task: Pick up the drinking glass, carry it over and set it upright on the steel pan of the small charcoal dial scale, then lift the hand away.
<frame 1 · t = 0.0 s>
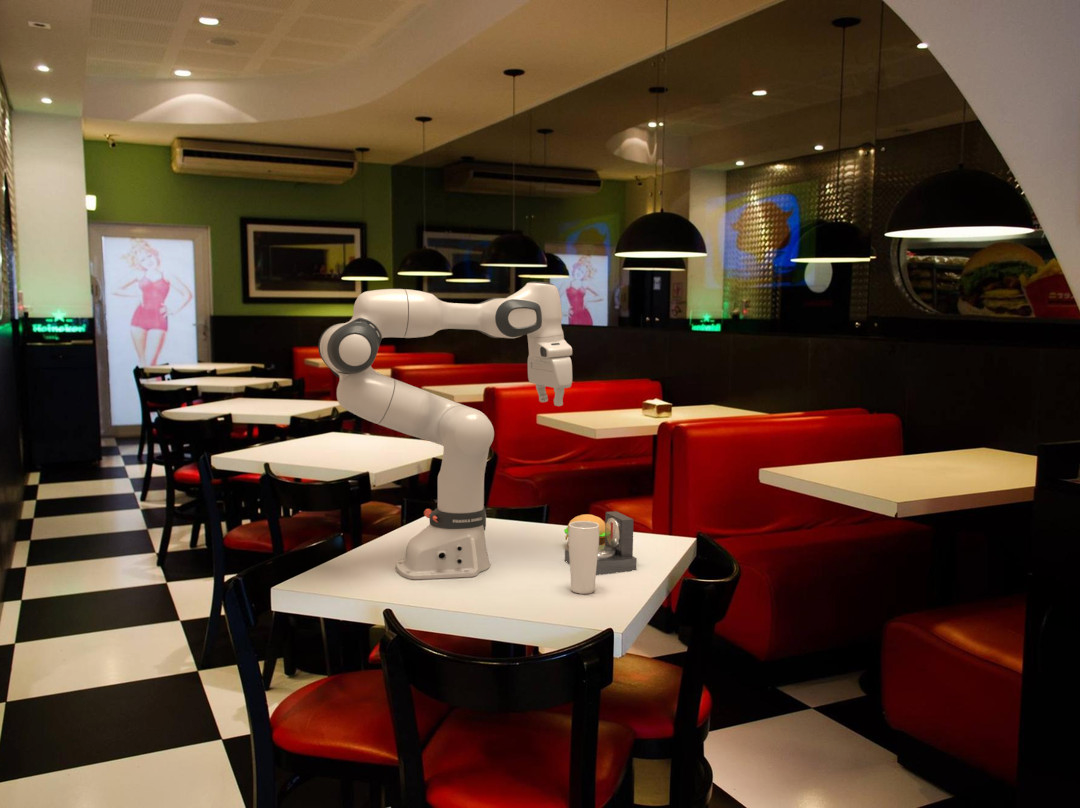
hand: (551, 403, 209), 39 cm above the table, tool pointing down, fingers open, 8 cm apart
dial scale: (599, 565, 206), on the table
drinking glass: (582, 591, 187), on the table
hamburger: (586, 548, 222), on the table
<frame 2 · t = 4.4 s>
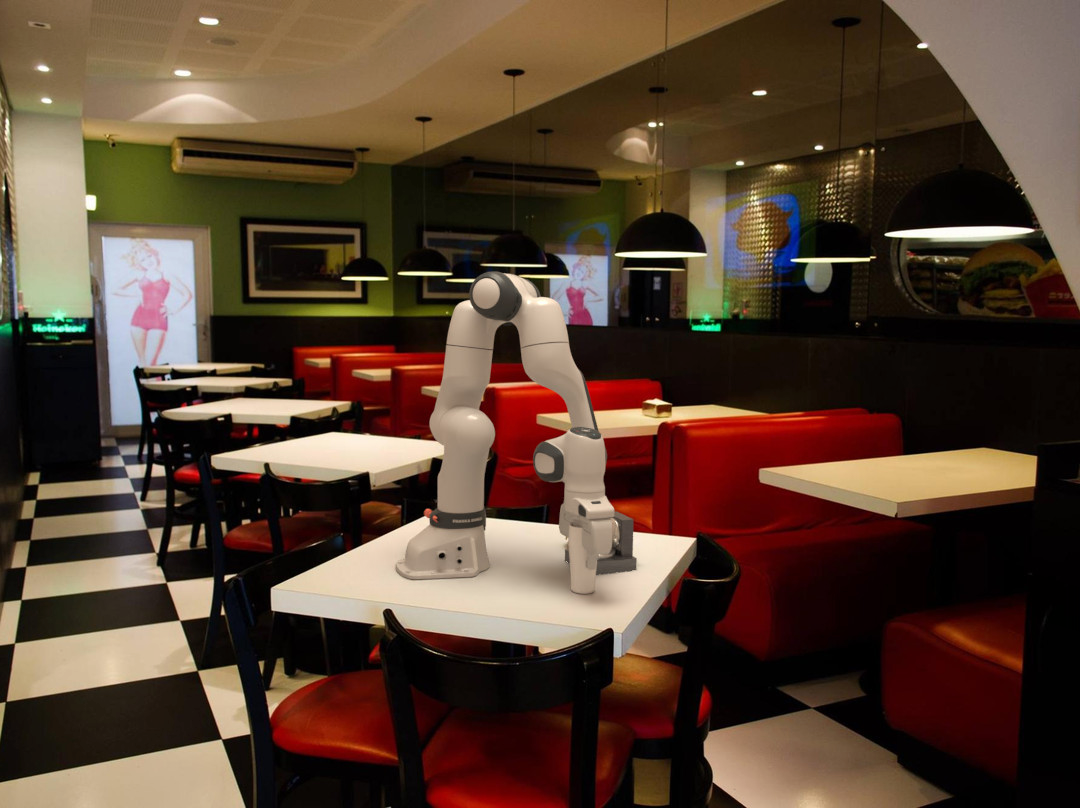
hand: (583, 563, 186), 6 cm above the table, tool pointing down, fingers closed on drinking glass, 6 cm apart
drinking glass: (582, 591, 187), on the table, touching gripper
everything else where it was.
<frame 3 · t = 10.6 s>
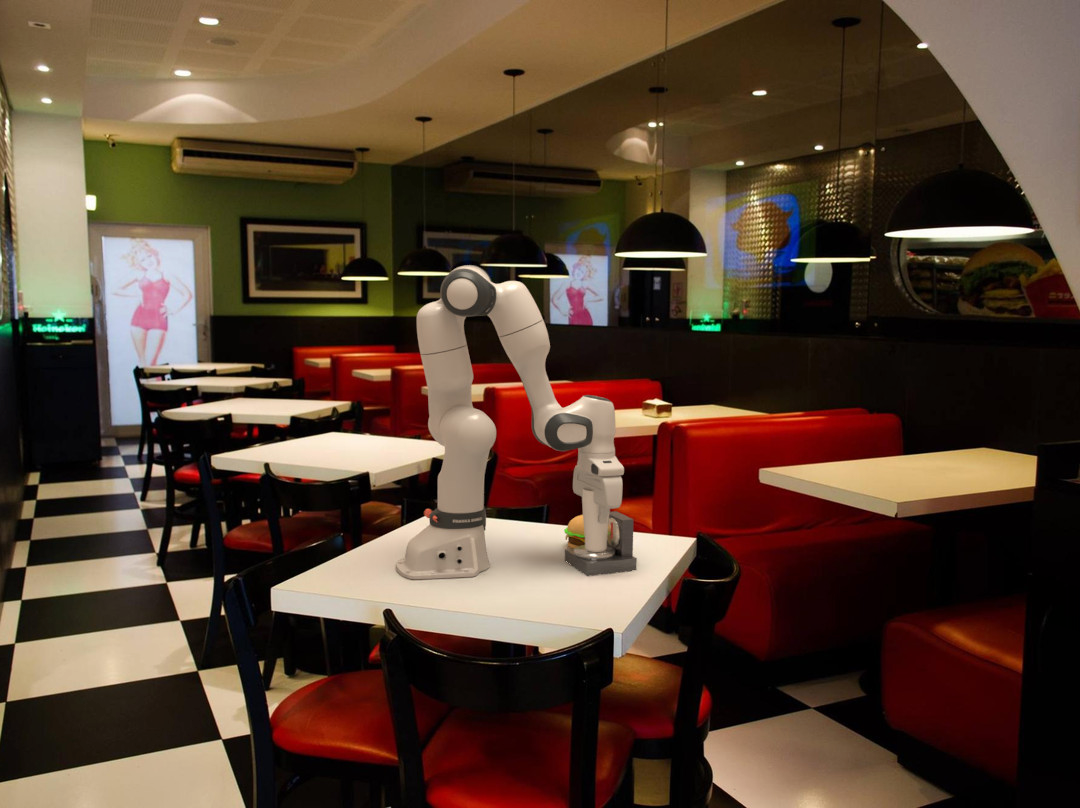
hand: (595, 519, 204), 12 cm above the table, tool pointing down, fingers closed on drinking glass, 6 cm apart
drinking glass: (595, 550, 205), point 4 cm above the table, touching dial scale, gripper
everything else where it was.
when the fingers open (12 cm above the table, at t = 11.2 s): drinking glass stays where it is, resting on dial scale.
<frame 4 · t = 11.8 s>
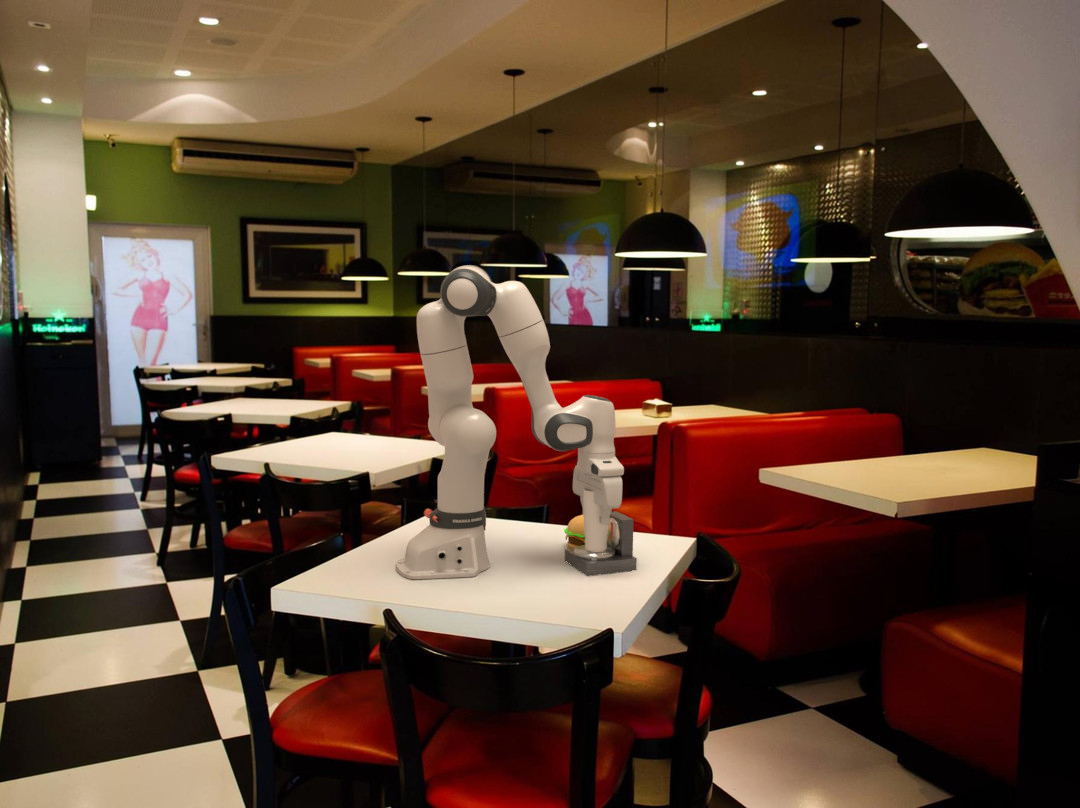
hand: (595, 519, 204), 12 cm above the table, tool pointing down, fingers open, 8 cm apart
drinking glass: (595, 550, 205), point 4 cm above the table, touching dial scale
everything else where it was.
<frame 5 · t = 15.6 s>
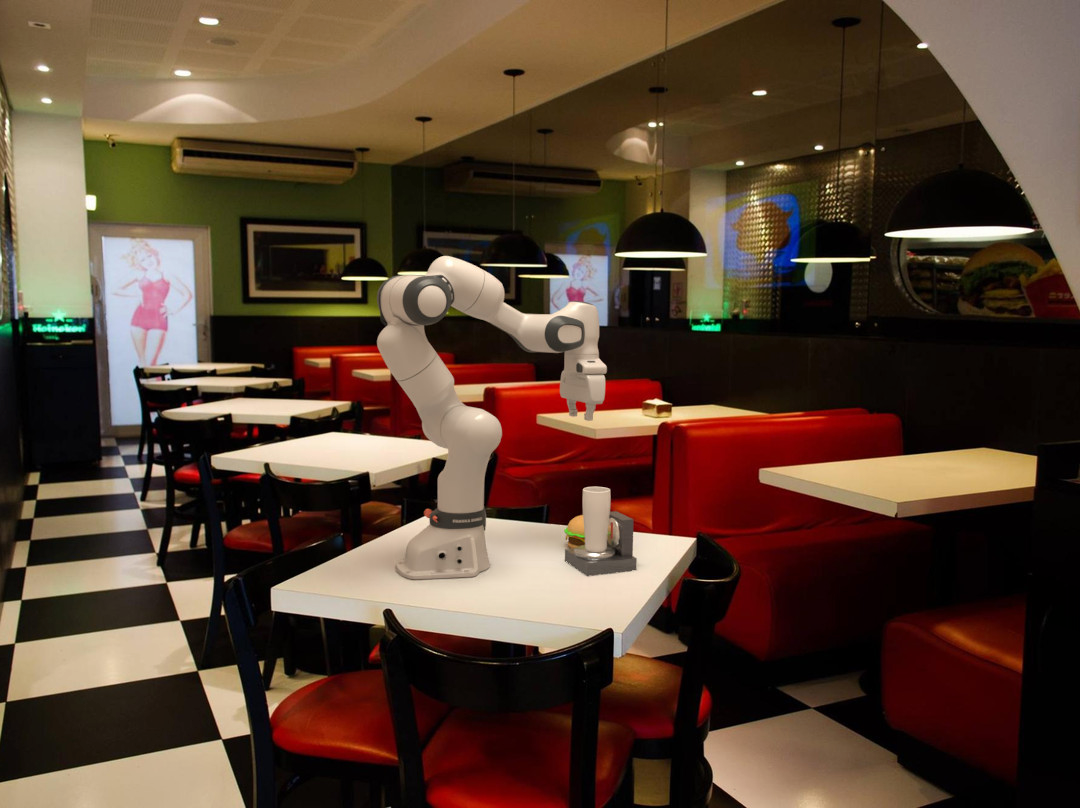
hand: (580, 418, 219), 34 cm above the table, tool pointing down, fingers open, 8 cm apart
nothing on the table moved.
at the end: drinking glass inside the target area on the dial scale (0.3 cm from its centre), point 3.8 cm above the dial scale's base; drinking glass tilted 0°; the gripper is holding nothing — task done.
